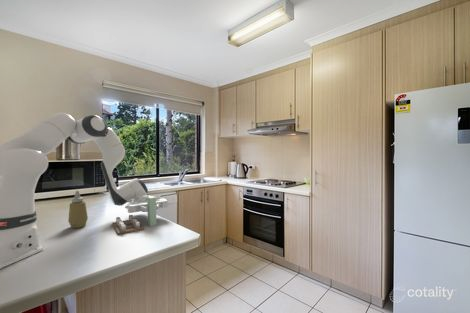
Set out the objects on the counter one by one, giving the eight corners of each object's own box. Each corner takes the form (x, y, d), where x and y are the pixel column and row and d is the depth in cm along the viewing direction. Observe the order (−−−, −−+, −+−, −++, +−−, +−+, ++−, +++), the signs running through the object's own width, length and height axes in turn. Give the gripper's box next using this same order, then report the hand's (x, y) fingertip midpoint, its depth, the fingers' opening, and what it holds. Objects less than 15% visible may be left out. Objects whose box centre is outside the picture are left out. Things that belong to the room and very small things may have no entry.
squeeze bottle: (64, 228, 109) (63, 192, 108) (80, 223, 116) (79, 189, 116) (75, 229, 106) (74, 192, 105) (91, 224, 113) (90, 189, 113)
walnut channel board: (143, 229, 104) (143, 222, 104) (118, 235, 98) (117, 227, 98) (135, 220, 119) (135, 214, 119) (112, 224, 112) (112, 217, 112)
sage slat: (156, 225, 111) (155, 197, 110) (150, 226, 109) (149, 198, 109) (153, 222, 115) (153, 195, 114) (147, 223, 113) (147, 196, 113)
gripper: (124, 200, 116) (129, 205, 105) (162, 195, 128) (171, 199, 117) (124, 212, 116) (129, 218, 105) (163, 206, 128) (171, 211, 117)
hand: (152, 208), depth 111 cm, fingers open, 4 cm apart
